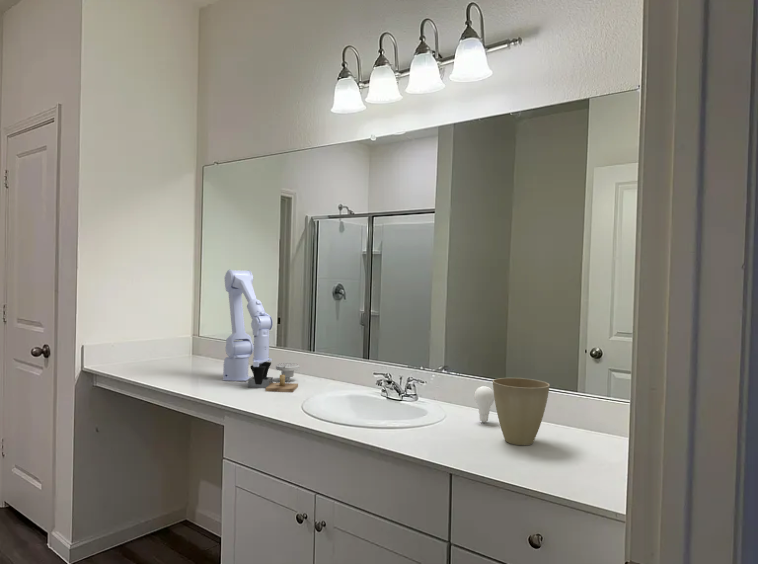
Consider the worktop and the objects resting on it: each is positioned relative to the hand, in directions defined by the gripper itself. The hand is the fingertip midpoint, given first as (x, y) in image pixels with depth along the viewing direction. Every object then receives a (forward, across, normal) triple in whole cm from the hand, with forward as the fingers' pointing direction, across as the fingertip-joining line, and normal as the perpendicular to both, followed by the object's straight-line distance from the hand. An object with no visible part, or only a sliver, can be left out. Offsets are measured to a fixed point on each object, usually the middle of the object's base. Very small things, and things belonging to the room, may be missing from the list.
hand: (260, 382), depth 213 cm
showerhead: (+2, +12, -8) cm, 14 cm away
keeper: (+1, -3, -9) cm, 10 cm away
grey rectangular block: (+1, 0, 0) cm, 1 cm away
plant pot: (+2, -58, -86) cm, 104 cm away
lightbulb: (+2, -40, -79) cm, 89 cm away
